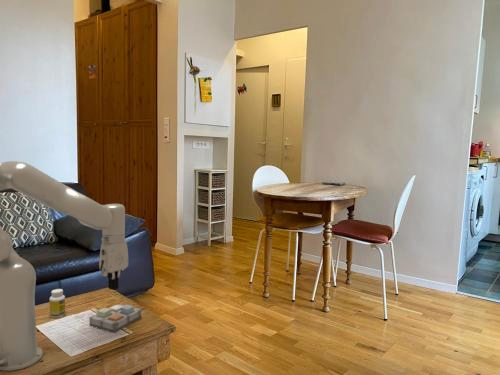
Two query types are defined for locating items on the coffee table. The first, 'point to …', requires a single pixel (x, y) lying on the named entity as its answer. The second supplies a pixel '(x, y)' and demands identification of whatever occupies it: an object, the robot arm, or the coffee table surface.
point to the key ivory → (116, 308)
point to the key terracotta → (115, 317)
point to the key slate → (127, 309)
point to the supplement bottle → (57, 303)
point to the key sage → (103, 312)
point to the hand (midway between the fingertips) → (113, 288)
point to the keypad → (112, 325)
